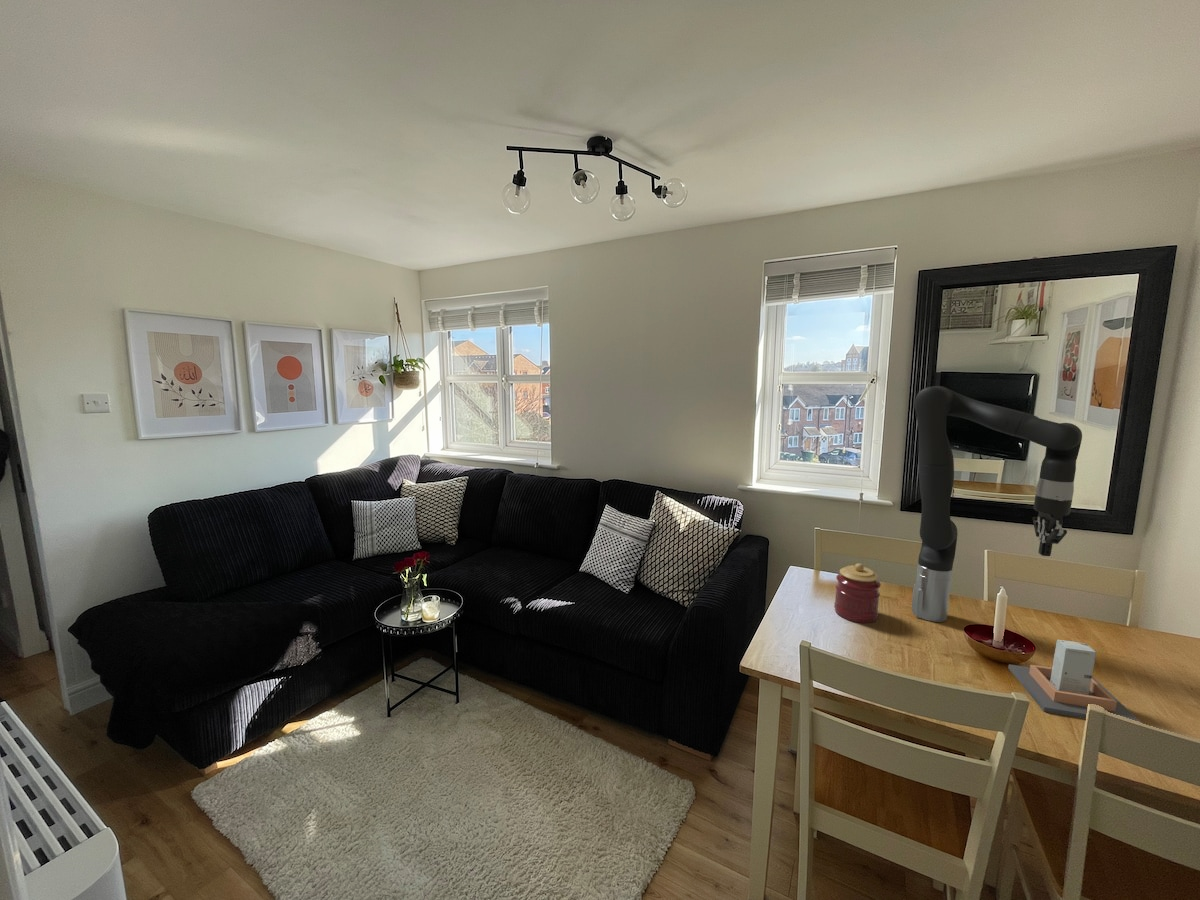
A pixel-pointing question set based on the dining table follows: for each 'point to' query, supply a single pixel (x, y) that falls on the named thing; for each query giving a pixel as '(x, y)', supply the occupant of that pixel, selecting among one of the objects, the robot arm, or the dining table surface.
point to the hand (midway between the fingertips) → (1044, 555)
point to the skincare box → (1072, 667)
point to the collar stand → (1065, 694)
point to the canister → (857, 594)
